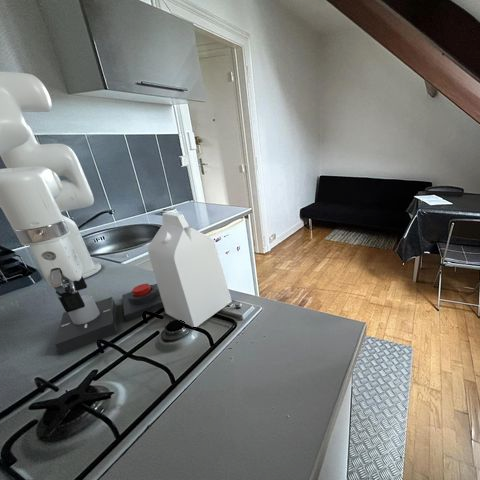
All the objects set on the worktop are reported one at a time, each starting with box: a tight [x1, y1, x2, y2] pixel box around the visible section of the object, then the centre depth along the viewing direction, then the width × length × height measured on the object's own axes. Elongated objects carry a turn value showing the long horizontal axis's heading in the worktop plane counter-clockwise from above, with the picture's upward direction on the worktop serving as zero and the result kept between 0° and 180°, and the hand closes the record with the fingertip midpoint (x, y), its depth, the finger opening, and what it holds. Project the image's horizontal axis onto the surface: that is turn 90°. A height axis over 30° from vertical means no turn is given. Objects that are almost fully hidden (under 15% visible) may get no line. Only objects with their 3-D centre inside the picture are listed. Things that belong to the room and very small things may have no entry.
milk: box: [147, 211, 233, 328], centre depth 64 cm, size 12×12×26 cm
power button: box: [132, 283, 151, 297], centre depth 71 cm, size 4×4×2 cm
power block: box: [121, 283, 164, 322], centre depth 72 cm, size 12×10×4 cm
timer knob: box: [68, 294, 100, 325], centre depth 62 cm, size 5×5×5 cm
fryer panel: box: [54, 296, 118, 356], centre depth 64 cm, size 14×10×3 cm
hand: (77, 298), depth 61 cm, fingers open, 9 cm apart
